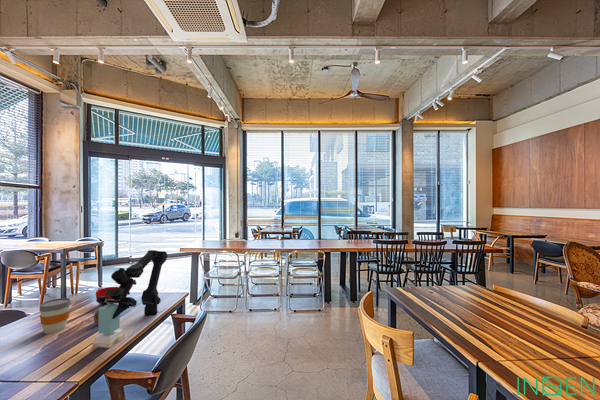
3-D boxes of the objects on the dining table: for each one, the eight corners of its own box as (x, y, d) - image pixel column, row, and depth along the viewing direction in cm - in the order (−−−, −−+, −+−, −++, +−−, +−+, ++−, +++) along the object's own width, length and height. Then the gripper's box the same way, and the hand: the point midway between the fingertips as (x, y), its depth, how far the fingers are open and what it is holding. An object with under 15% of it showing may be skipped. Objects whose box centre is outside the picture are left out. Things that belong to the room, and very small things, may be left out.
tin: (98, 326, 143) (98, 311, 143) (92, 326, 143) (92, 311, 143) (116, 315, 158) (116, 301, 158) (111, 315, 158) (111, 301, 158)
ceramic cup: (115, 308, 168) (115, 293, 168) (90, 308, 168) (90, 293, 168) (129, 300, 181) (129, 286, 181) (105, 300, 181) (105, 286, 181)
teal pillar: (108, 327, 130) (108, 303, 130) (119, 327, 130) (119, 304, 130) (98, 333, 124) (98, 308, 124) (109, 333, 124) (110, 309, 124)
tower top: (107, 334, 131) (107, 329, 131) (122, 334, 131) (122, 329, 131) (94, 342, 123) (94, 337, 123) (110, 342, 123) (110, 337, 123)
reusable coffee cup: (42, 337, 131) (43, 308, 131) (35, 331, 138) (36, 303, 138) (74, 327, 142) (74, 300, 142) (66, 322, 148) (66, 296, 149)
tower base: (108, 338, 132) (108, 333, 132) (124, 338, 131) (124, 334, 131) (92, 347, 123) (92, 342, 123) (109, 348, 122) (110, 343, 122)
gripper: (99, 280, 132) (78, 311, 121) (133, 281, 131) (115, 312, 119) (111, 290, 140) (93, 320, 129) (143, 291, 138) (128, 321, 127)
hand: (107, 318), depth 126 cm, fingers closed on teal pillar, 6 cm apart
